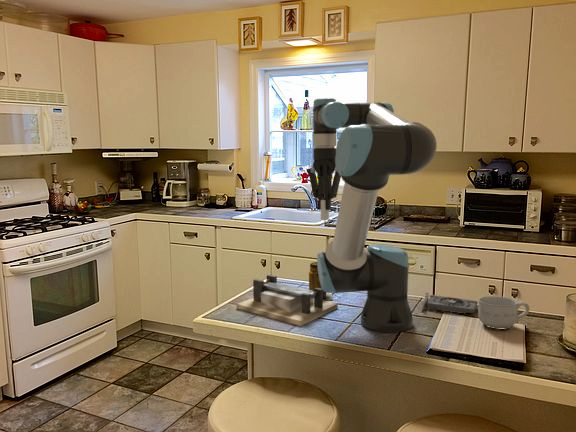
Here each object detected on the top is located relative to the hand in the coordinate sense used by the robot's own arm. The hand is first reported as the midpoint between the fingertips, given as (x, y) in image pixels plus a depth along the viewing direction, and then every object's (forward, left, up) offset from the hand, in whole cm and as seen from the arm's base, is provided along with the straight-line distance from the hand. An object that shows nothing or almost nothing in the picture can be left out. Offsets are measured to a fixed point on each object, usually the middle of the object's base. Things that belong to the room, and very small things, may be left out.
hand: (324, 219), depth 168 cm
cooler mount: (+5, +14, -28) cm, 32 cm away
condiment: (+3, -2, -28) cm, 29 cm away
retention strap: (+5, +14, -22) cm, 27 cm away
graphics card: (-37, -17, -29) cm, 49 cm away
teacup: (-55, -11, -28) cm, 63 cm away
